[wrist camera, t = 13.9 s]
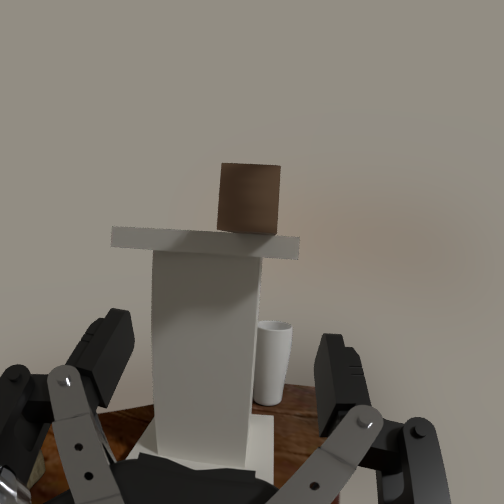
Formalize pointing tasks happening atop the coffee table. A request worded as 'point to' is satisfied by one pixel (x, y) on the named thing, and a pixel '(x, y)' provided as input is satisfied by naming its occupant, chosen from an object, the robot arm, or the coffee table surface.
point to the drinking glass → (271, 361)
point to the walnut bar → (249, 198)
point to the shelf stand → (206, 346)
